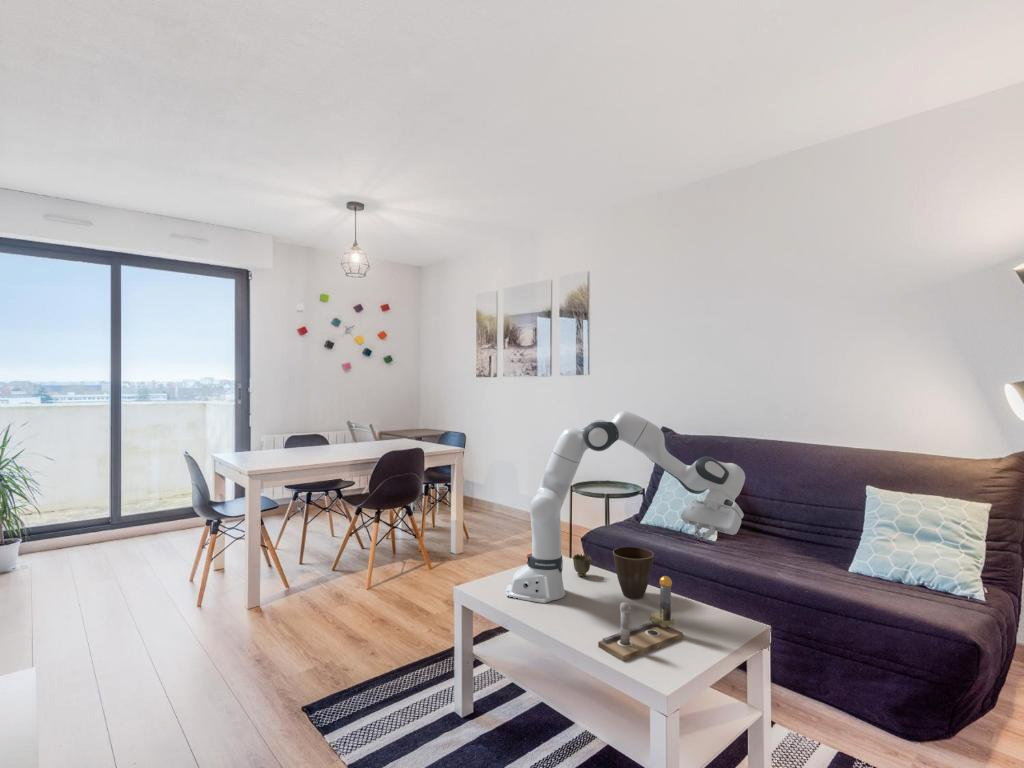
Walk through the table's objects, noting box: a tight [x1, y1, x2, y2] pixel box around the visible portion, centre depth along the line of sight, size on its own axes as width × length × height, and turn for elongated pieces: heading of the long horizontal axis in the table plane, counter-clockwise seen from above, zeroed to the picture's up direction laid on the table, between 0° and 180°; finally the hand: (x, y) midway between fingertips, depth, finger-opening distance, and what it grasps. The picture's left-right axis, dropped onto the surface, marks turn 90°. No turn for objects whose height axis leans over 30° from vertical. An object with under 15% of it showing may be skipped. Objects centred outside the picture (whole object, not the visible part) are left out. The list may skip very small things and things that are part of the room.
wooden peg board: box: [597, 601, 684, 662], centre depth 155 cm, size 26×10×13 cm, turn 124°
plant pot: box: [612, 546, 655, 600], centre depth 191 cm, size 15×15×16 cm
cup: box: [572, 553, 592, 578], centre depth 212 cm, size 8×7×8 cm
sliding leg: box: [649, 575, 675, 627], centre depth 162 cm, size 4×6×16 cm
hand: (699, 537), depth 171 cm, fingers closed
